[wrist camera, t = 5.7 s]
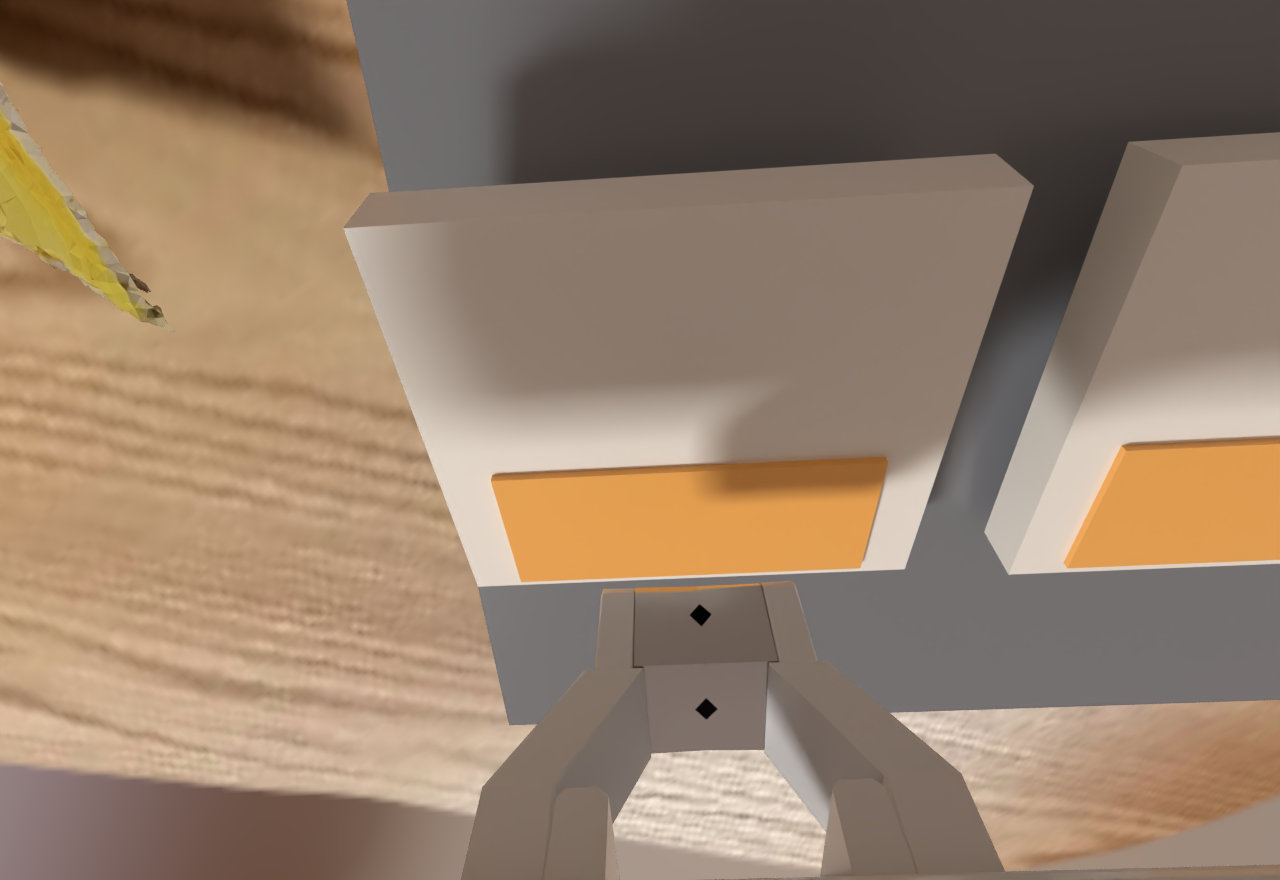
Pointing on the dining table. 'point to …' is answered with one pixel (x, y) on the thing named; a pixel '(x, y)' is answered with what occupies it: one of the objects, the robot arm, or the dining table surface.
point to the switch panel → (864, 132)
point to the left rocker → (690, 359)
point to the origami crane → (58, 221)
